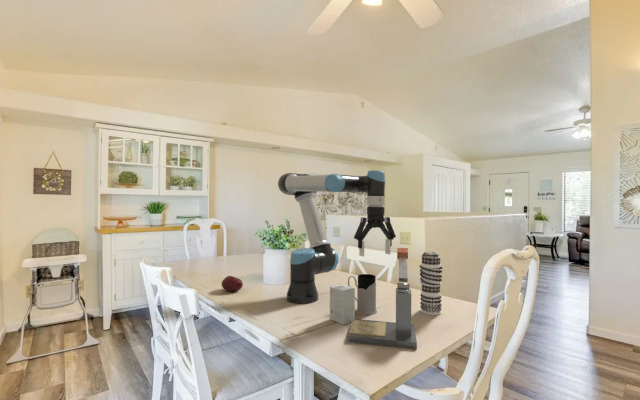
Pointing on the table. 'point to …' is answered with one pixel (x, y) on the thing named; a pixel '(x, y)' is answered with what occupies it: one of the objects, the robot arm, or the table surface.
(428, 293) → the decorative candle
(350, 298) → the small box
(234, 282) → the heart
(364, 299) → the glass holder
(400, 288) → the lever
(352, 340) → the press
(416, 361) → the table surface
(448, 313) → the table surface
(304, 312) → the table surface
